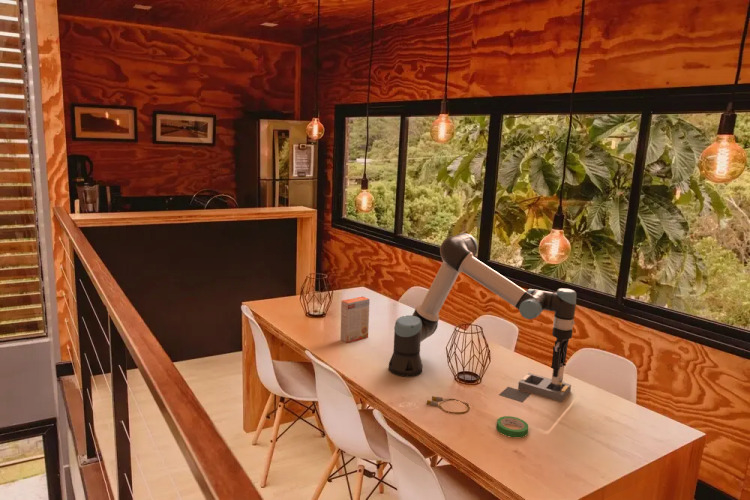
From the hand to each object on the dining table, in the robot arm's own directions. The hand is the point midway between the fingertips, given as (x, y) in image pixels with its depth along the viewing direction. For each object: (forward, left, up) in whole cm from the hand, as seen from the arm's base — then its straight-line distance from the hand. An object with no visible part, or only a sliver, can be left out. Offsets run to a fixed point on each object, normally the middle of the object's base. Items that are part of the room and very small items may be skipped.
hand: (556, 381), depth 226 cm
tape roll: (-38, +4, -7) cm, 39 cm away
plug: (0, 0, -3) cm, 3 cm away
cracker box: (-4, +101, -6) cm, 101 cm away
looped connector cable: (-36, +30, -7) cm, 47 cm away
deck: (-12, +13, -6) cm, 18 cm away
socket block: (0, +5, -6) cm, 8 cm away
